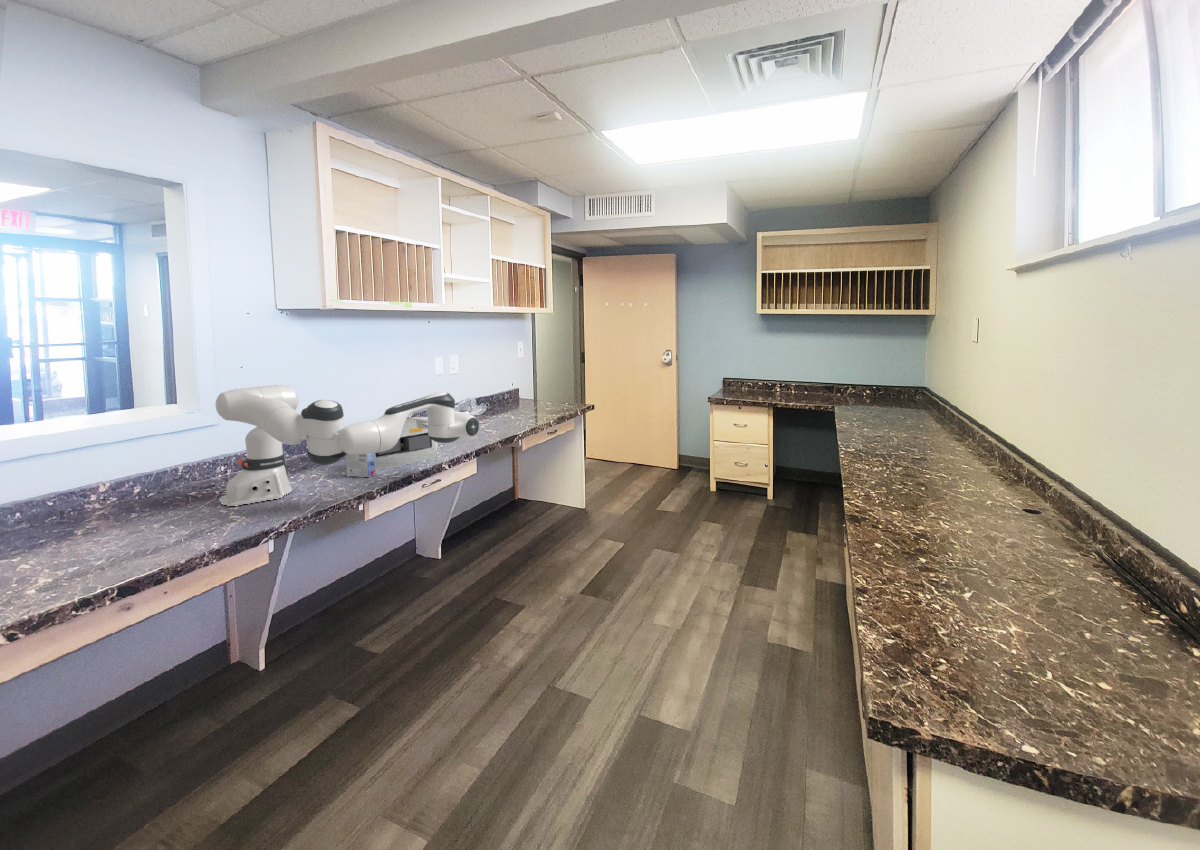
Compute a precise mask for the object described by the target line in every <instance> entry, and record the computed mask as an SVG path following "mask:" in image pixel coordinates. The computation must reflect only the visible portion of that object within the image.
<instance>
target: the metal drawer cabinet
mask: <svg viewBox="0 0 1200 850" xmlns="http://www.w3.org/2000/svg"><path fill="white" fill-rule="evenodd" d="M418 417H419V418H422V417H423V416H418ZM416 419H417V418H413V419H410V418H407V419H406V421H405V423H404V426H403V429H402V433H401V436H400V444H401V451H395V452H390V453H385V454H380V455H378V454H375V453H374V457H375V469H376V471H377V470H382V469H386V468H391V467H395V466H400V465H405V466H407V465H406V464H410V463H414V462H419V461H423V460H428V459H433V460H435V459H434V458H437V459H438V457H437V456H438V455H437V454H438V451H436V442H435V441H433V440H432V439H431V438H430V447H426V448H421V449H416V450H411V451H408V450H405V449H403V438H404V437H410V436H415V435H421V434H425V435H428V429H425V428H418V427H417V425H416ZM428 461H429V460H428ZM419 463H420V462H419ZM414 464H415V463H414ZM410 465H411V464H410ZM400 467H401V466H400ZM391 469H392V468H391ZM386 470H387V469H386ZM382 471H383V470H382ZM377 472H378V471H377Z"/></svg>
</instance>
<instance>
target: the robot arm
mask: <svg viewBox="0 0 1200 850" xmlns="http://www.w3.org/2000/svg"><path fill="white" fill-rule="evenodd" d="M299 401H300V400H299V395H298V393H297V392H296V390H295V388H293V387H292V386H289V385H283V384H281V385H279V384H278V385H277V384H274V385H272V384H271V385H265V386H264V385H263V386H254V387H243V388H235V389H230V390H227V391H223V392H220V393H219V394H218V395H217V398H216V400H215V411H216V413H217V414H218V415H219V416H220V417H221V418H222V419H223V420H225V421H231V422H232V421H233V422H238V423H239V422H240V423H244V424H249V425H251V426H255V427H254V428H252V429H251V430H249V432H248V433H247V434H246V436H245V438H244V441H245V450H246V455H247V457H246V458H245V459H242V458H239V459H238V460H237V461H236V463H237V464H238V465H239V466H241V468H242V469H241V470H240V471H239V472H238V473H237V474H235V476H233V477H232V478H231V479H230V480H229V481H228V482H227V483H226V487H225V495H222V496H220V497H219V499H218V501H220V502H221V503H223V504H225V505H230V506H235V505H242V504H248V505H250V504H249V503H254V504H256V503H255V502H259V503H261V502H260V501H265V502H267V501H266V500H271V501H274V500H273V499H277V500H280V499H279V498H281V499H283V498H284V497H285V496H287V495H289V494H291V493H292V492H293V491H292V490H293V488H292V486H291V484H290V481H289V477H288V474H287V471H286V469H287V461H286V456H285V455H286V454H285V453H284V451H283V444H284V445H288V446H295V445H298V444H301V443H302V442H304V441H306V445H307V449H306V453H307V458H308V460H309V461H310V462H312V463H313V464H317V465H321V466H322V465H325V466H327V465H332V464H334V463H336V462H338V461H340V460H341V459H342V458H344V457H346V454H371V453H378V452H383V451H387V450H390V449H392V448H393V447H394V446H395V445H396V444H397V442H398V441H399V439H400V436H401V433H402V429H403V426H404V423H405V421H406V419H409V416H411V415H413V414H416V413H420V412H422V411H425V410H426V411H427V412H426V413H427V415H426V416H421V417H422V418H417V419H416V425H417V427H418V428H425V429H428V436H429V437H430V438H431V439H432V440H433V441H435V442H437V443H442V444H448V443H449V444H450V443H454V442H456V441H457V440H459V439H460V438H461V437H462V438H463V437H467V438H471V437H475V436H476V435H477V434H478V432H479V430H480V422H479V420H478V418H477V417H476V416H474V415H472V414H470V413H469V412H470V411H468V410H460V411H457V410H455V407H456V406H455V404H456V400H455V398H454V397H453V396H452V394H451V393H449V392H445V391H438V392H433V393H431V394H429V395H426V396H424V397H419V398H418V399H417V398H416V399H414V400H411V401H407V402H402V403H400V404H396V405H394V406H392V407H389V408H387V409H386V410H385V412H384V413H383V414H382V415H381V416H380V417H378V418H376V419H373V420H367V421H361V422H357V423H353V424H349V425H347V426H344V415H345V414H344V410H343V407H342V404H340V403H339V402H338V401H334V400H330V399H319V400H316V401H313V402H312V403H310V404H309V405H307V406H306V407H305V408H303V409H302V410H301V411H300V412H298V411H297V410H296V409H297V408H298V406H299ZM291 491H292V492H291ZM290 492H291V493H290ZM288 493H289V494H288ZM286 494H287V495H286ZM284 495H285V496H284ZM283 496H284V497H283ZM282 497H283V498H282ZM220 502H219V503H220ZM242 506H243V505H242Z"/></svg>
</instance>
